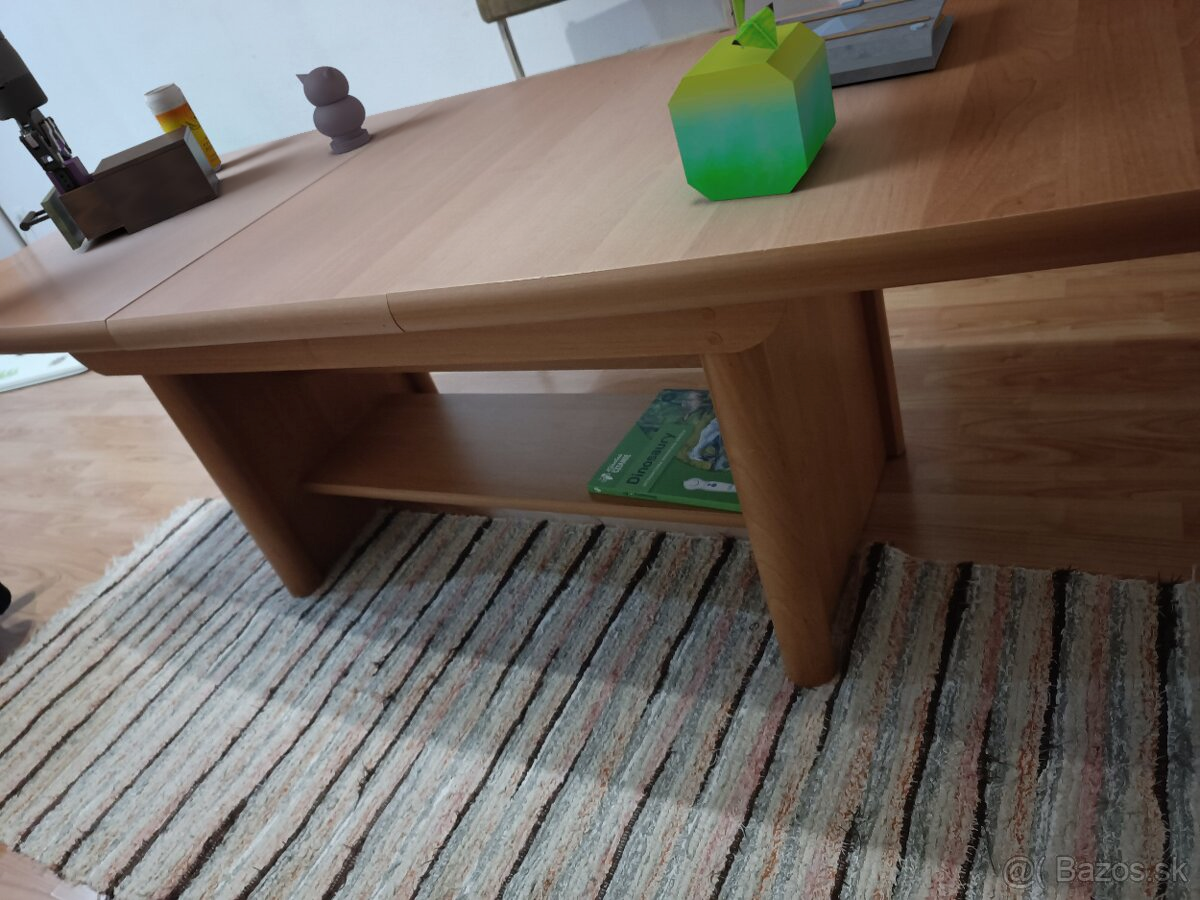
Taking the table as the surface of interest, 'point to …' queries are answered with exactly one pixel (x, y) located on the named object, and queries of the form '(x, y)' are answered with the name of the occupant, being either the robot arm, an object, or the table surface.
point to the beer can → (179, 117)
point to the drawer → (76, 214)
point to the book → (879, 37)
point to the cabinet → (156, 179)
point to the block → (77, 172)
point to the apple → (754, 109)
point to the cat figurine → (335, 108)
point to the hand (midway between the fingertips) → (77, 189)
